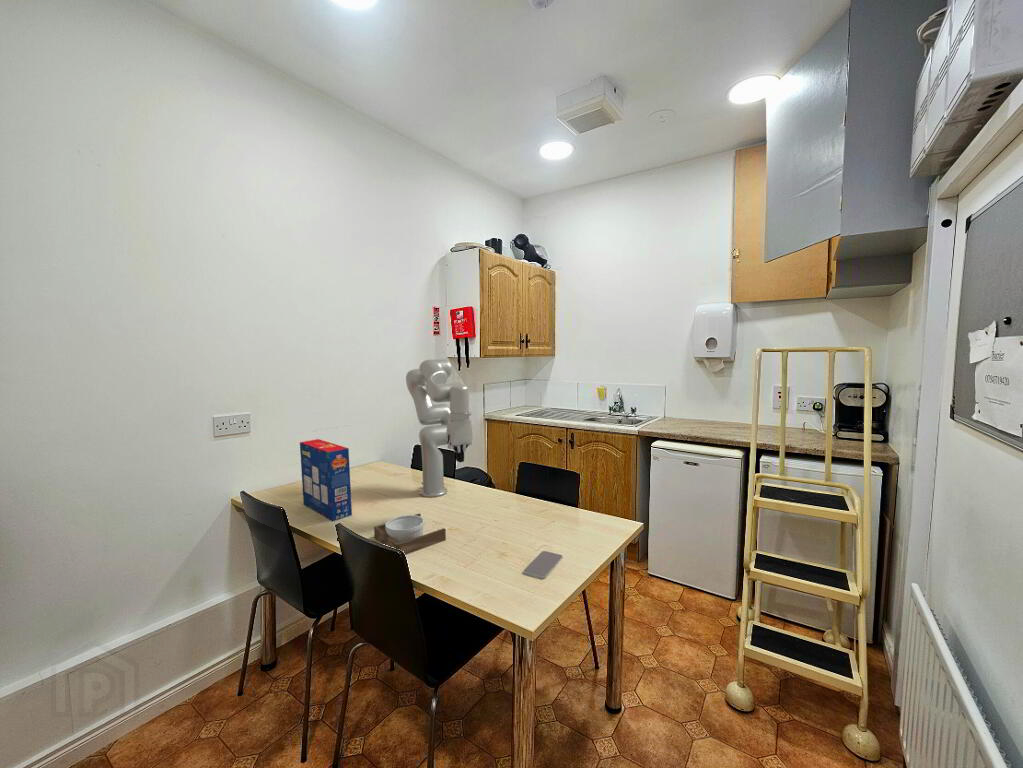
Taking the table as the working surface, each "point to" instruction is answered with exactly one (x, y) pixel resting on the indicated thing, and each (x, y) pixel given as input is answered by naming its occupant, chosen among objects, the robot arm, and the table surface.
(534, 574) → the smartphone
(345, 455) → the blue cardboard box
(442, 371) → the robot arm
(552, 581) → the table surface
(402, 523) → the ramekin
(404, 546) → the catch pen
